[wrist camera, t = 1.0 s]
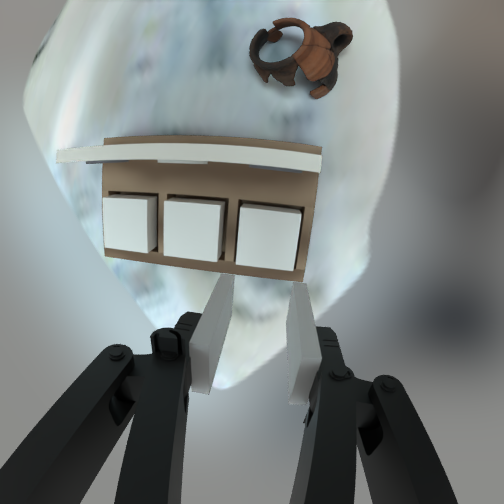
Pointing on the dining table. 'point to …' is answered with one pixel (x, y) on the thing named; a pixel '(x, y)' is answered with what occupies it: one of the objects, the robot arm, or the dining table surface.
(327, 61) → the pottery mug
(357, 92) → the dining table surface
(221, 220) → the middle button
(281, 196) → the button board
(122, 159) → the pattern card
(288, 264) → the button
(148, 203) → the button
